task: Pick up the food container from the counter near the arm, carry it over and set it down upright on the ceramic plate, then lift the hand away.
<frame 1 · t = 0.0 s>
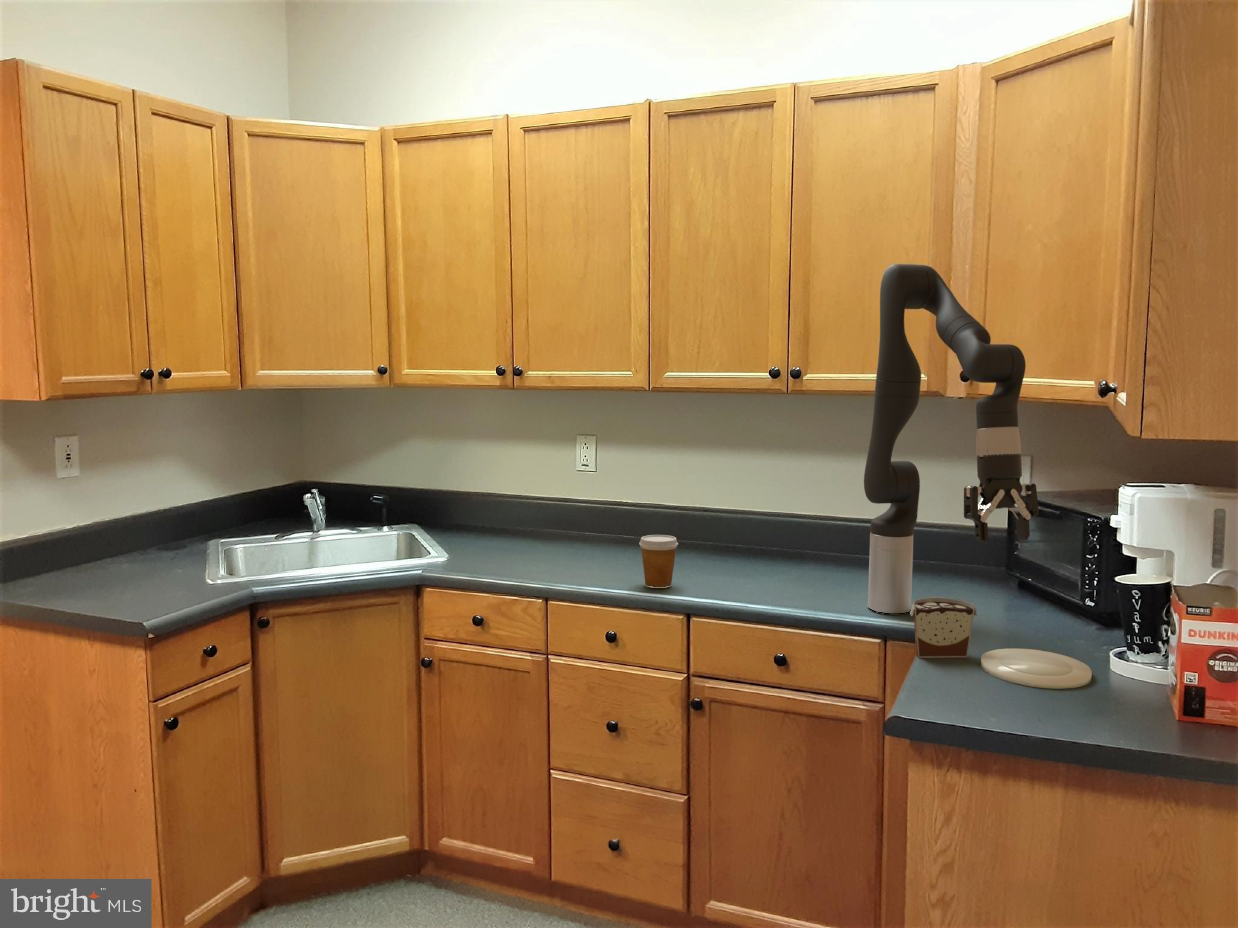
hand: (1002, 541, 166), 22 cm above the worktop, tool pointing down, fingers open, 8 cm apart
food container: (936, 653, 174), on the worktop
disposable coffee cup: (658, 586, 224), on the worktop
plate: (1034, 670, 163), on the worktop
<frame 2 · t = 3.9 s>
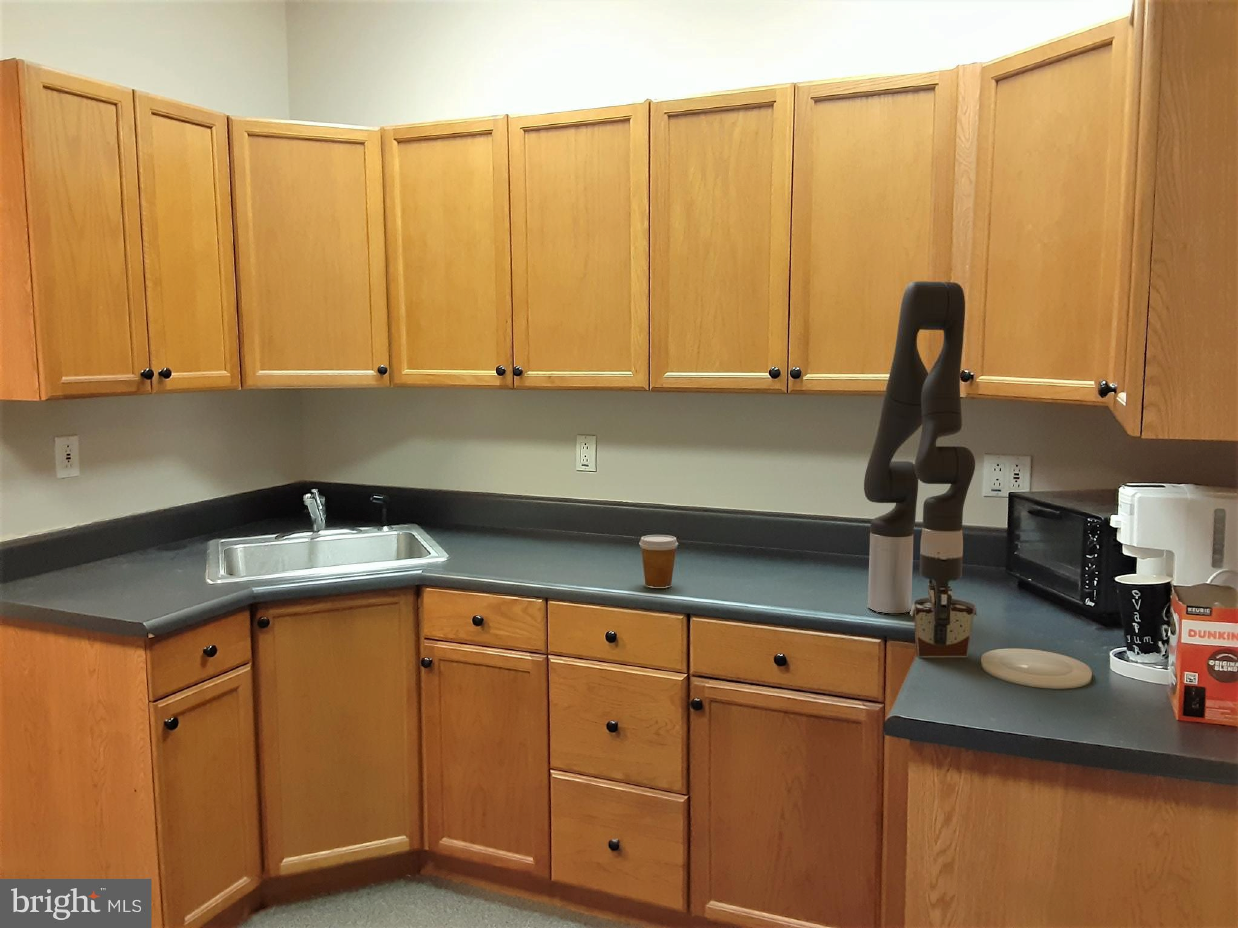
hand: (938, 639, 173), 3 cm above the worktop, tool pointing down, fingers closed on food container, 6 cm apart
food container: (936, 652, 174), on the worktop, touching gripper
everything else where it was.
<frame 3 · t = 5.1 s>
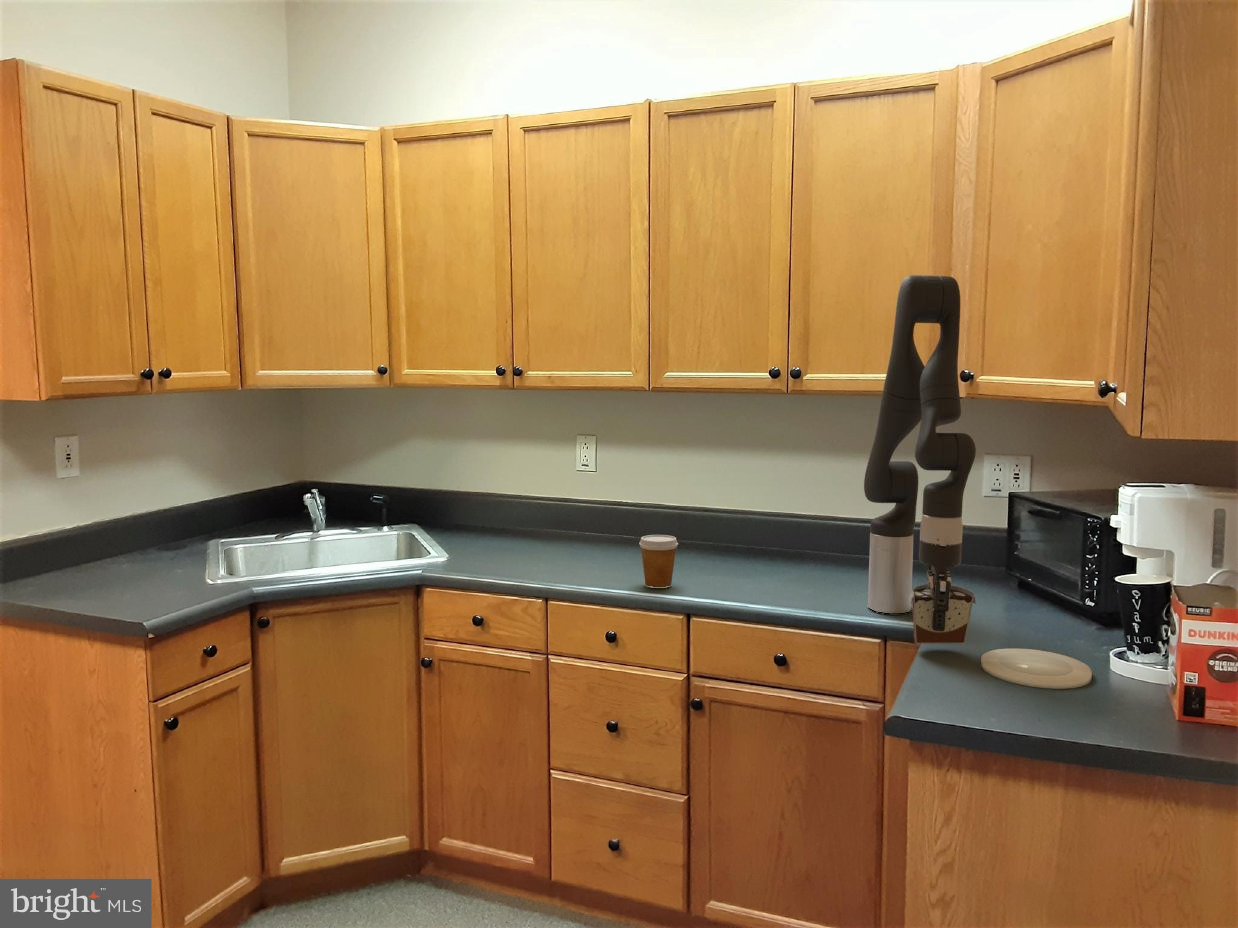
hand: (936, 625, 173), 5 cm above the worktop, tool pointing down, fingers closed on food container, 5 cm apart
food container: (934, 638, 175), point 2 cm above the worktop, touching gripper
everything else where it was.
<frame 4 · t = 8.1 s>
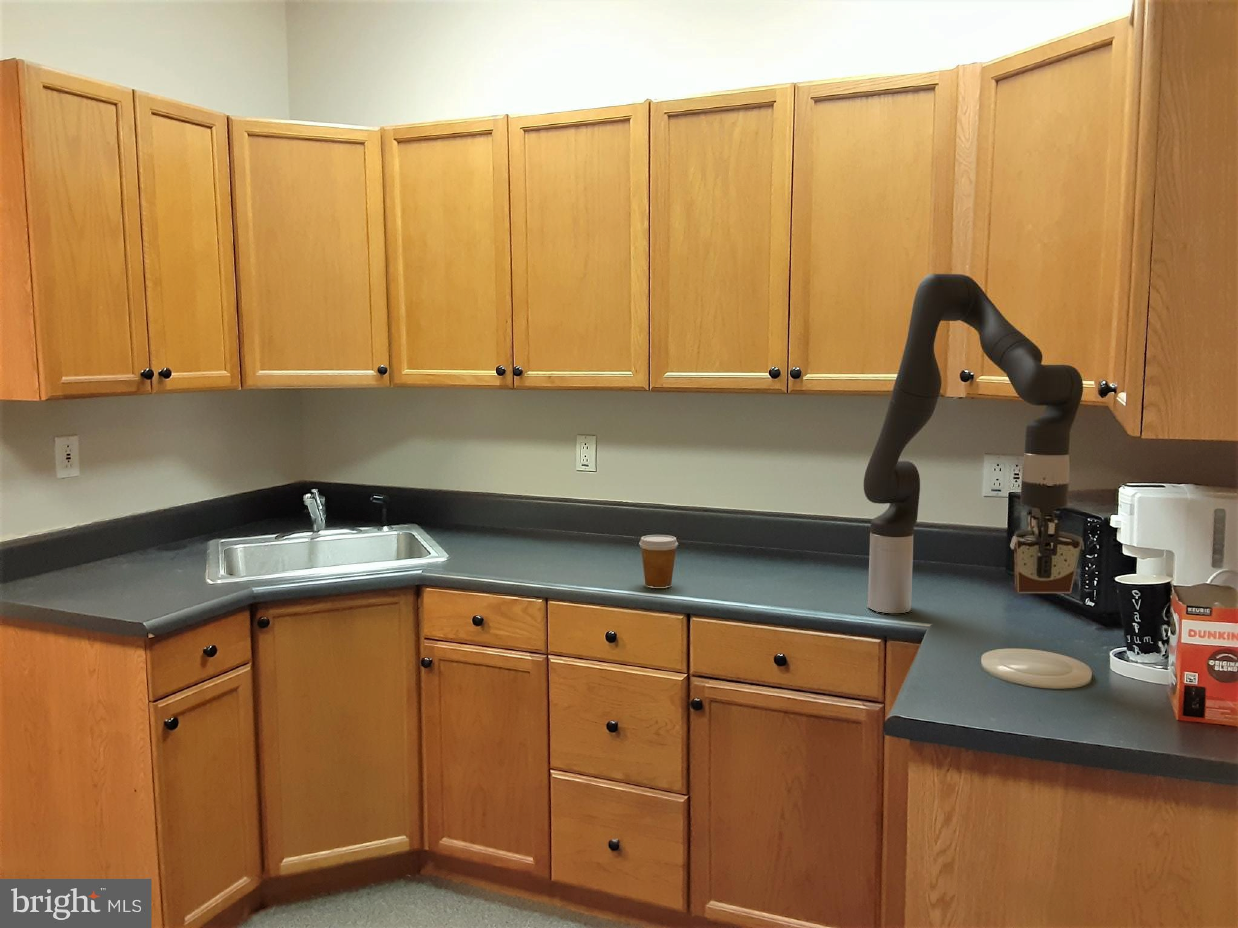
hand: (1039, 573, 161), 18 cm above the worktop, tool pointing down, fingers closed on food container, 5 cm apart
food container: (1036, 588, 163), point 15 cm above the worktop, touching gripper
everything else where it was.
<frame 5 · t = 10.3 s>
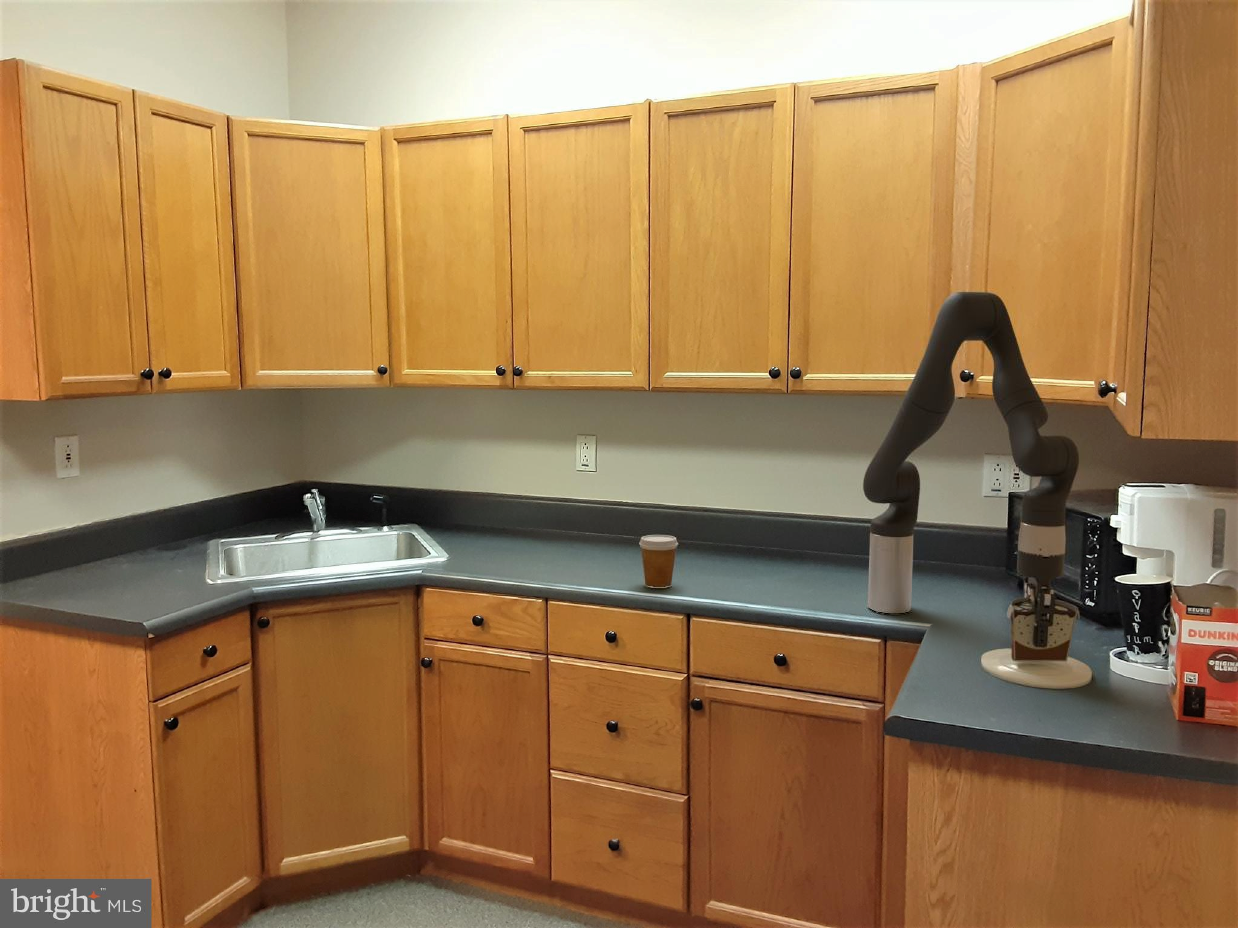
hand: (1036, 640, 163), 5 cm above the worktop, tool pointing down, fingers closed on food container, 5 cm apart
food container: (1032, 655, 164), point 2 cm above the worktop, touching gripper
everything else where it was.
when the fingers open (5 cm above the worktop, at t = 11.1 s): food container moves 1 cm, resting on plate.
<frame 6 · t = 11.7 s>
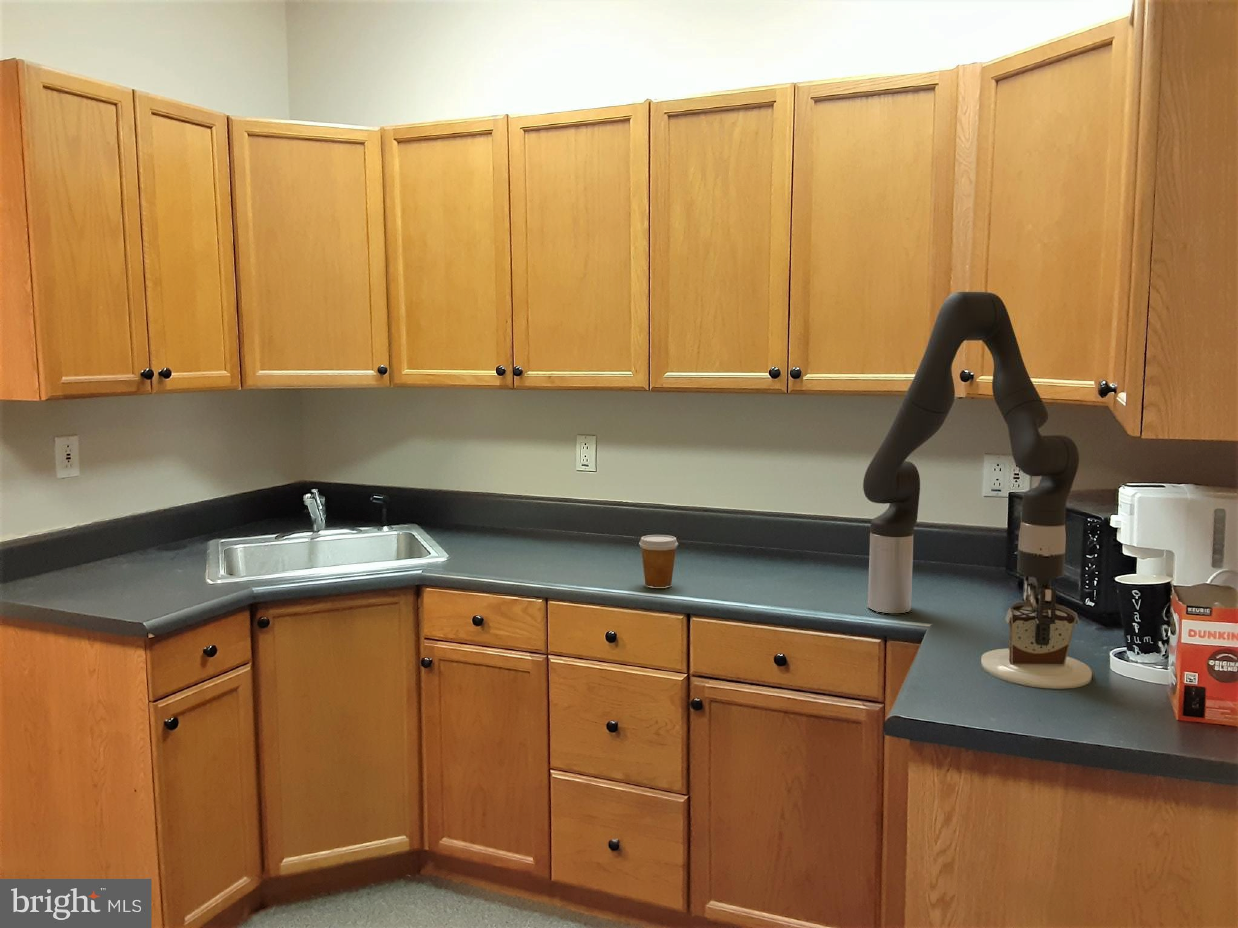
hand: (1036, 637, 163), 6 cm above the worktop, tool pointing down, fingers open, 8 cm apart
food container: (1030, 658, 165), point 2 cm above the worktop, touching gripper, plate
everything else where it was.
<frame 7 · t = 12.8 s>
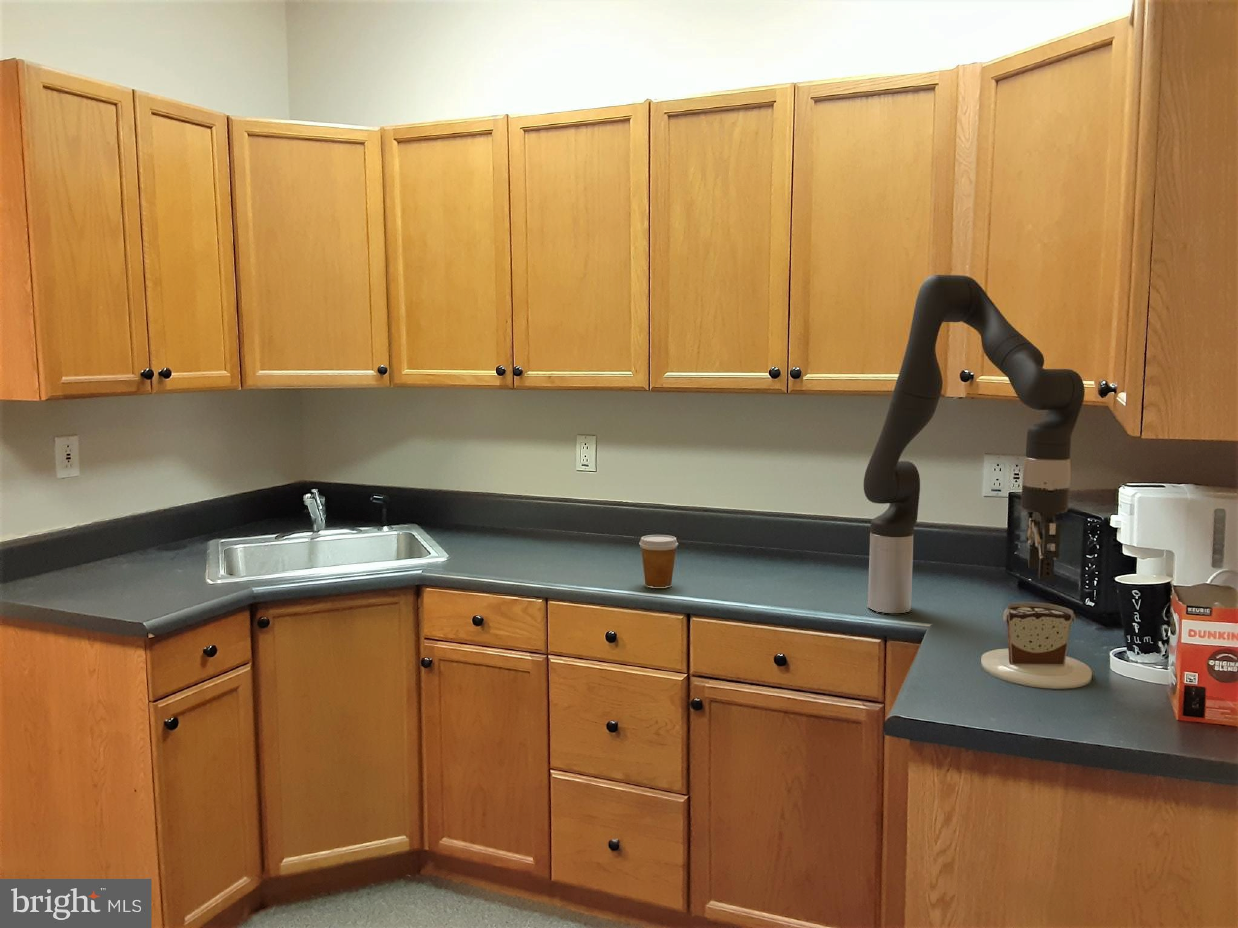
hand: (1040, 574, 161), 18 cm above the worktop, tool pointing down, fingers open, 8 cm apart
food container: (1030, 660, 165), point 1 cm above the worktop, touching plate
everything else where it was.
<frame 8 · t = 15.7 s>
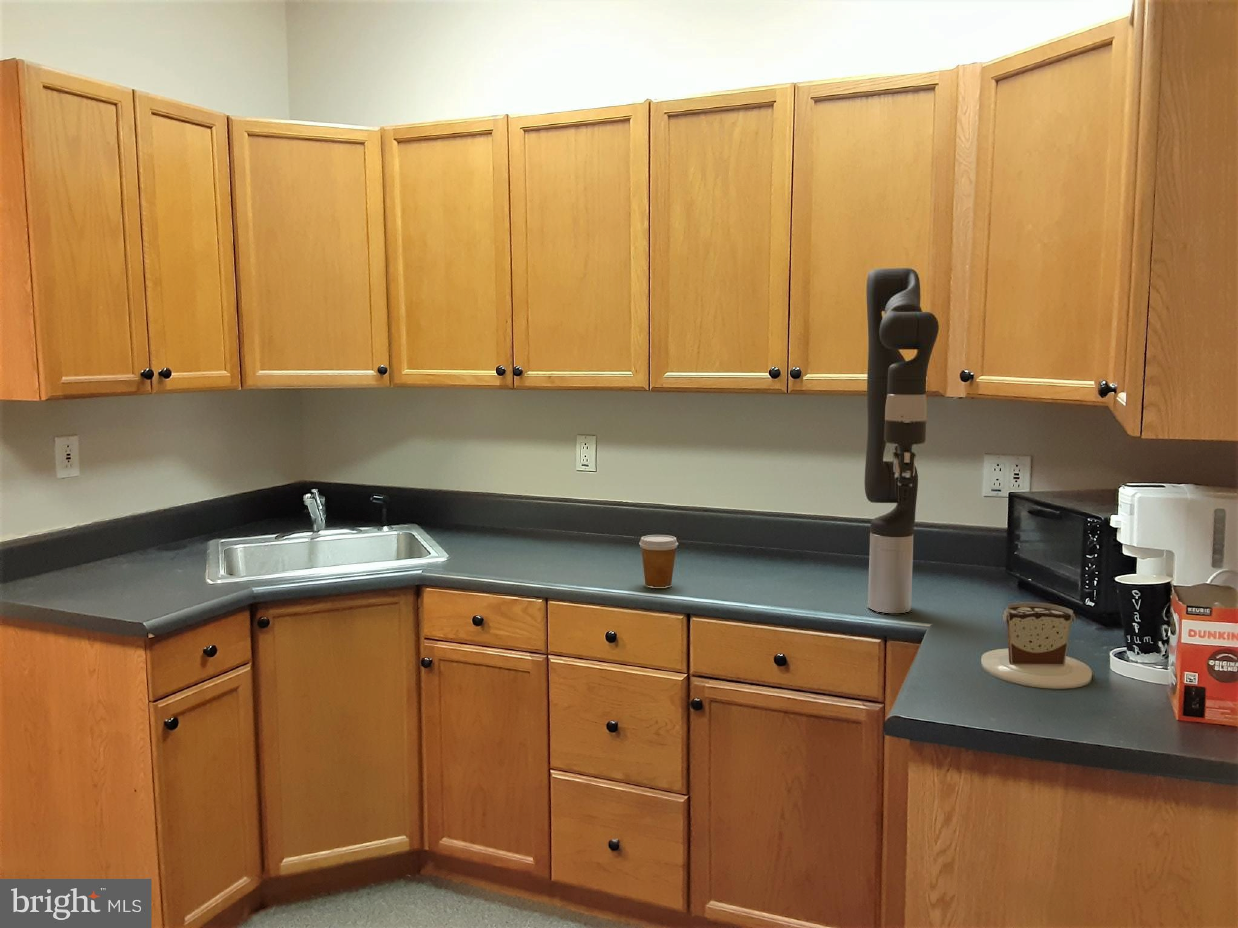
hand: (902, 502, 175), 28 cm above the worktop, tool pointing down, fingers open, 8 cm apart
nothing on the worktop moved.
at the end: food container inside the target area on the plate (2.2 cm from its centre), point 1.1 cm above the plate's base; food container tilted 0°; the gripper is holding nothing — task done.
